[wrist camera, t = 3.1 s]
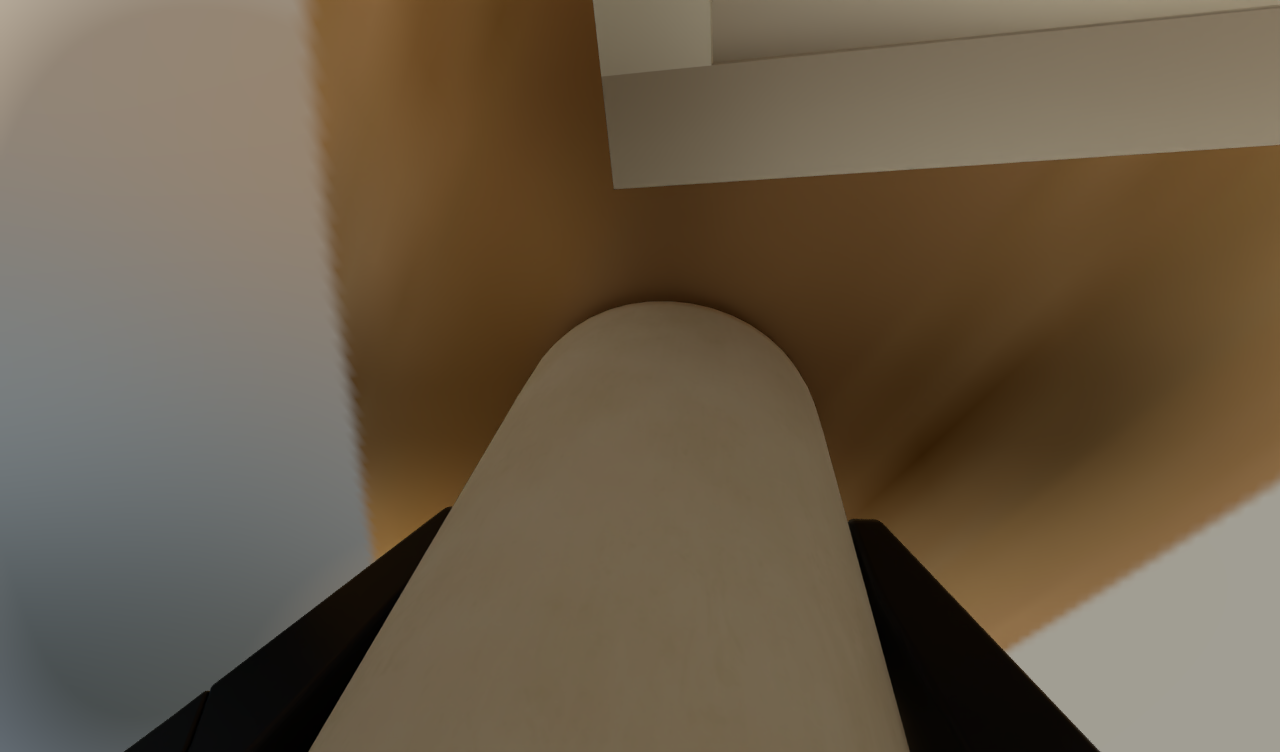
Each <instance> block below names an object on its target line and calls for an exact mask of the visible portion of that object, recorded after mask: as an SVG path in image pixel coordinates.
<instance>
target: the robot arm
mask: <svg viewBox="0 0 1280 752" xmlns="http://www.w3.org/2000/svg"><path fill="white" fill-rule="evenodd" d="M451 509H452V507H447V508H445V509H443V510H442V511H440V512H439V513H438V514H437V515H435V516H434V517H433V518H431V519H430V520H429V521H427V522H426V523H425V524H423V525H422V526H421V527H419V528H418V529H417V530H416V531H414V532H413V533H412V534H410V535H409V536H408V537H406V538H405V539H404V540H402V541H401V542H400V543H398V544H397V545H396V546H395V547H393V548H392V549H391V550H389V551H388V552H387V553H385V554H384V555H383V556H381V557H380V558H379V559H377V560H376V561H375V562H374V563H372V564H371V565H370V566H368V567H367V568H366V569H364V570H363V571H362V572H361V573H359V574H358V575H357V576H355V577H354V578H353V579H351V580H350V581H349V582H347V583H346V584H345V585H344V586H342V587H341V588H340V589H338V590H337V591H336V592H334V593H333V594H332V595H330V596H329V597H328V598H326V599H325V600H324V601H323V602H321V603H320V604H318V605H317V606H316V607H315V608H313V609H312V610H311V611H309V612H308V613H307V614H306V615H304V616H303V617H301V618H300V619H299V620H298V621H296V622H295V623H294V624H292V625H291V626H290V627H288V628H287V629H286V630H284V631H283V632H282V633H280V634H279V635H278V636H276V637H275V638H274V639H273V640H271V641H270V642H269V643H268V644H266V645H265V646H263V647H262V648H261V649H260V650H258V651H257V652H256V653H254V654H253V655H252V656H250V657H249V658H248V659H246V660H245V661H244V662H242V663H241V664H240V665H238V666H237V667H236V668H235V669H233V670H232V671H231V672H229V673H228V674H227V675H225V676H224V677H223V678H221V679H220V680H219V681H218V682H216V683H215V684H214V685H213V686H212V687H211V689H210V691H205V692H203V693H201V694H200V695H199V696H197V697H196V698H195V699H194V700H192V701H191V702H190V703H188V704H187V705H186V706H184V707H183V708H182V709H180V710H179V711H178V712H177V713H175V714H174V715H173V716H171V717H170V718H169V719H167V720H166V721H164V722H163V723H162V724H160V725H159V726H158V727H156V728H155V729H154V730H152V731H151V732H150V733H148V734H147V735H146V736H145V737H143V738H142V739H140V740H139V741H137V742H136V743H135V744H134V745H132V746H131V747H130V748H128V749H127V750H125V751H124V752H309V750H310V748H311V746H312V745H313V743H314V741H315V740H316V738H317V736H318V735H319V733H320V731H321V729H322V728H323V726H324V724H325V723H326V721H327V719H328V718H329V716H330V714H331V713H332V711H333V709H334V707H335V706H336V704H337V702H338V701H339V699H340V697H341V696H342V694H343V692H344V690H345V689H346V687H347V685H348V684H349V682H350V680H351V679H352V677H353V675H354V673H355V672H356V670H357V668H358V667H359V665H360V663H361V662H362V660H363V658H364V657H365V655H366V653H367V651H368V650H369V648H370V646H371V645H372V643H373V641H374V640H375V638H376V636H377V634H378V633H379V631H380V629H381V628H382V626H383V624H384V623H385V621H386V619H387V617H388V616H389V614H390V612H391V611H392V609H393V607H394V606H395V604H396V602H397V600H398V599H399V597H400V595H401V594H402V592H403V590H404V589H405V587H406V585H407V584H408V582H409V580H410V578H411V577H412V575H413V573H414V572H415V570H416V568H417V567H418V565H419V563H420V561H421V560H422V558H423V556H424V555H425V553H426V551H427V550H428V548H429V546H430V544H431V543H432V541H433V539H434V538H435V536H436V534H437V533H438V531H439V529H440V527H441V526H442V524H443V522H444V521H445V519H446V517H447V516H448V514H449V512H450V511H451ZM848 525H849V529H850V533H851V536H852V540H853V544H854V548H855V551H856V555H857V559H858V562H859V566H860V570H861V573H862V577H863V581H864V584H865V588H866V592H867V596H868V599H869V603H870V607H871V610H872V614H873V618H874V621H875V625H876V629H877V632H878V636H879V640H880V644H881V647H882V651H883V655H884V658H885V662H886V666H887V669H888V673H889V677H890V680H891V684H892V688H893V692H894V695H895V699H896V703H897V706H898V710H899V714H900V717H901V721H902V725H903V728H904V732H905V736H906V740H907V743H908V747H909V751H910V752H1100V751H1099V750H1098V749H1097V748H1096V747H1095V746H1094V745H1093V744H1092V743H1091V742H1090V741H1089V740H1088V739H1087V737H1086V736H1085V735H1084V734H1083V733H1082V732H1081V731H1080V730H1079V729H1078V728H1077V727H1076V726H1075V725H1074V724H1073V723H1072V722H1071V721H1070V720H1069V719H1068V718H1067V716H1066V715H1065V714H1064V713H1063V712H1062V711H1061V710H1060V709H1059V708H1058V707H1057V706H1056V705H1055V704H1054V703H1053V702H1052V701H1051V700H1050V699H1049V698H1048V697H1047V696H1046V694H1045V693H1044V692H1043V691H1042V690H1041V689H1040V688H1039V687H1038V686H1037V685H1036V684H1035V683H1034V682H1033V681H1032V680H1031V679H1030V678H1029V677H1028V675H1026V673H1025V672H1024V671H1023V670H1022V669H1021V668H1020V667H1019V666H1018V665H1017V664H1016V663H1015V662H1014V661H1013V660H1012V659H1011V658H1010V657H1009V656H1008V654H1007V653H1006V652H1005V651H1004V650H1003V649H1002V648H1001V647H1000V646H999V645H998V644H997V643H996V642H995V641H994V640H993V639H992V638H991V637H990V636H989V635H988V633H987V632H986V631H985V630H984V629H983V628H982V627H981V626H980V625H979V624H978V623H977V622H976V621H975V620H974V619H973V618H972V617H971V616H970V615H969V614H968V612H967V611H966V610H965V609H964V608H963V607H962V606H961V605H960V604H959V603H958V602H957V601H956V600H955V599H954V598H953V597H952V596H951V595H950V594H949V593H948V591H947V590H946V589H945V588H944V587H943V586H942V585H941V584H940V583H939V582H938V581H937V580H936V579H935V578H934V577H933V576H932V575H931V574H930V573H929V571H928V570H927V569H926V568H925V567H924V566H923V565H922V564H921V563H920V562H919V561H918V560H917V559H916V558H915V557H914V556H913V555H912V554H911V553H910V552H909V550H908V549H907V548H906V547H905V546H904V545H903V544H902V543H901V542H900V541H899V540H898V539H897V538H896V537H895V536H894V535H893V534H892V533H891V532H890V531H889V529H888V528H887V527H886V526H885V525H884V524H883V523H881V522H880V521H878V520H874V519H851V520H849V521H848Z"/></svg>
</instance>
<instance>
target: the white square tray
mask: <svg viewBox="0 0 1280 752" xmlns="http://www.w3.org/2000/svg"><path fill="white" fill-rule="evenodd" d="M593 6H594V15H595V24H596V33H597V42H598V51H599V60H600V69H601V78H602V87H603V96H604V105H605V114H606V123H607V132H608V141H609V150H610V159H611V168H612V177H613V186H614V189H627V188H642V187H657V186H671V185H686V184H701V183H716V182H731V181H746V180H761V179H776V178H791V177H806V176H821V175H836V174H851V173H866V172H881V171H896V170H911V169H926V168H940V167H955V166H970V165H985V164H1000V163H1015V162H1030V161H1045V160H1060V159H1075V158H1090V157H1105V156H1120V155H1135V154H1150V153H1165V152H1180V151H1195V150H1210V149H1224V148H1239V147H1254V146H1269V145H1280V0H593Z"/></svg>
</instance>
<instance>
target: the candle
mask: <svg viewBox="0 0 1280 752" xmlns="http://www.w3.org/2000/svg"><path fill="white" fill-rule="evenodd" d="M309 752H910V751H909V747H908V743H907V740H906V736H905V732H904V728H903V725H902V721H901V717H900V714H899V710H898V706H897V703H896V699H895V695H894V692H893V688H892V684H891V680H890V677H889V673H888V669H887V666H886V662H885V658H884V655H883V651H882V647H881V644H880V640H879V636H878V632H877V629H876V625H875V621H874V618H873V614H872V610H871V607H870V603H869V599H868V596H867V592H866V588H865V584H864V581H863V577H862V573H861V570H860V566H859V562H858V559H857V555H856V551H855V548H854V544H853V540H852V536H851V533H850V529H849V525H848V522H847V518H846V514H845V511H844V507H843V503H842V500H841V496H840V492H839V488H838V485H837V481H836V477H835V474H834V470H833V466H832V463H831V459H830V455H829V451H828V448H827V444H826V440H825V437H824V433H823V430H822V427H821V423H820V420H819V417H818V414H817V410H816V407H815V404H814V401H813V399H812V396H811V394H810V391H809V389H808V387H807V385H806V384H805V382H804V380H803V379H802V377H801V375H800V374H799V372H798V370H797V369H796V367H795V366H794V364H793V363H792V362H791V360H790V359H789V358H788V357H787V355H786V354H785V353H784V352H783V351H782V349H780V348H779V347H778V346H777V345H776V344H775V343H774V342H773V341H772V340H771V339H770V338H768V337H767V336H766V335H764V334H763V333H762V332H760V331H759V330H757V329H756V328H754V327H753V326H751V325H750V324H748V323H746V322H744V321H742V320H740V319H738V318H736V317H734V316H732V315H729V314H727V313H724V312H721V311H718V310H716V309H713V308H709V307H705V306H700V305H696V304H692V303H683V302H673V301H651V302H642V303H635V304H628V305H624V306H621V307H617V308H613V309H610V310H607V311H605V312H602V313H600V314H598V315H595V316H593V317H591V318H589V319H587V320H586V321H584V322H582V323H581V324H579V325H577V326H576V327H574V328H573V329H572V330H571V331H569V332H568V333H567V334H566V335H564V336H563V337H562V338H561V339H560V340H559V341H558V342H556V343H555V344H554V345H553V347H552V348H551V349H550V350H549V351H548V352H547V353H546V354H545V355H544V356H543V358H542V359H541V361H540V362H539V364H538V365H537V367H536V368H535V370H534V372H533V373H532V375H531V376H530V378H529V379H528V381H527V383H526V384H525V386H524V387H523V389H522V390H521V392H520V394H519V395H518V397H517V398H516V400H515V402H514V404H513V405H512V407H511V409H510V410H509V412H508V414H507V415H506V417H505V419H504V421H503V422H502V424H501V426H500V427H499V429H498V431H497V432H496V434H495V436H494V438H493V439H492V441H491V443H490V444H489V446H488V448H487V449H486V451H485V453H484V454H483V456H482V458H481V460H480V461H479V463H478V465H477V466H476V468H475V470H474V471H473V473H472V475H471V477H470V478H469V480H468V482H467V483H466V485H465V487H464V488H463V490H462V492H461V494H460V495H459V497H458V499H457V500H456V502H455V504H454V505H453V507H452V509H451V511H450V512H449V514H448V516H447V517H446V519H445V521H444V522H443V524H442V526H441V527H440V529H439V531H438V533H437V534H436V536H435V538H434V539H433V541H432V543H431V544H430V546H429V548H428V550H427V551H426V553H425V555H424V556H423V558H422V560H421V561H420V563H419V565H418V567H417V568H416V570H415V572H414V573H413V575H412V577H411V578H410V580H409V582H408V584H407V585H406V587H405V589H404V590H403V592H402V594H401V595H400V597H399V599H398V600H397V602H396V604H395V606H394V607H393V609H392V611H391V612H390V614H389V616H388V617H387V619H386V621H385V623H384V624H383V626H382V628H381V629H380V631H379V633H378V634H377V636H376V638H375V640H374V641H373V643H372V645H371V646H370V648H369V650H368V651H367V653H366V655H365V657H364V658H363V660H362V662H361V663H360V665H359V667H358V668H357V670H356V672H355V673H354V675H353V677H352V679H351V680H350V682H349V684H348V685H347V687H346V689H345V690H344V692H343V694H342V696H341V697H340V699H339V701H338V702H337V704H336V706H335V707H334V709H333V711H332V713H331V714H330V716H329V718H328V719H327V721H326V723H325V724H324V726H323V728H322V729H321V731H320V733H319V735H318V736H317V738H316V740H315V741H314V743H313V745H312V746H311V748H310V750H309Z"/></svg>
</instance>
